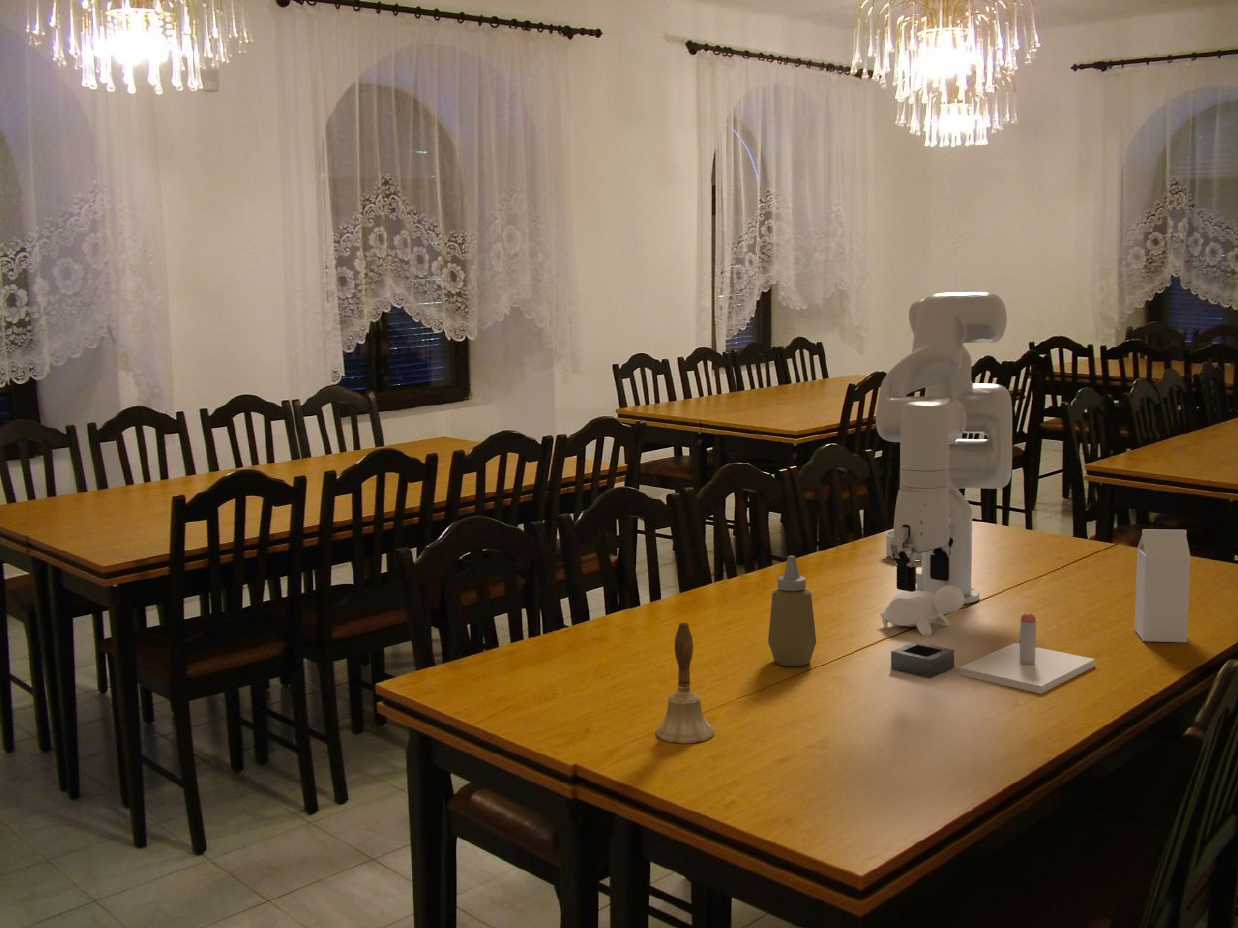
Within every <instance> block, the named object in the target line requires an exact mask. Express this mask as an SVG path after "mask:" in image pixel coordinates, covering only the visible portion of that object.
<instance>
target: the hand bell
mask: <svg viewBox="0 0 1238 928" xmlns="http://www.w3.org/2000/svg"><path fill="white" fill-rule="evenodd" d="M676 631H677V632H676V634H675V639H674V653H675V659H676V662H677V667H678V674H677V675H678V683H677V691H676V692H675V693H672V694H671V695H670V696H669V697H668V701H667V702H668V704H667V709H666V714H665V717H664V719H663V720H662V723H661V724H660V725H659V726H657V729H656V730H655V735H656V736H657V738H659V739H660V740H662V741H665V742H668V743H673V744H674V743H675V744H676V743H677V744H695V743H699V742H700V743H701V742H705V741H707V740H710V739H711V738H712V737H714V736H715V733H716V732H715V729H714V727H713V726H712V724H710V723H709V722H708V721H707V719H706V717H705V716H704V712H703V708H702V701H701V697H700V696H699V695H698V694H697V693H695V692H692V691H691V687H690V686H691V681H690V680H691V677H690V676H691V675H690V671H691V670H690V666H691V662H692V658H693V653H694V641H693V636H692V633H691V630H690V626H689V623H688V622H680V623H678V629H677V630H676Z"/></svg>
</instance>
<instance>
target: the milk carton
mask: <svg viewBox="0 0 1238 928" xmlns="http://www.w3.org/2000/svg"><path fill="white" fill-rule="evenodd" d="M1187 534H1188V533H1187V529H1159V528H1158V529H1155V528H1154V529H1152V528H1151V529H1150V528H1149V529H1147V528H1146V529H1142V530H1141V537H1140V540H1139V543H1138V545H1137V547H1136V548H1137V549H1136V553H1137V554H1136V573H1135V575H1136V576H1135V577H1136V581H1135V582H1136V583H1135V602H1134V603H1135V605H1134V606H1135V609H1134V631H1135V632H1136V633H1137V635H1138V636H1139V638H1140V639H1141V640H1142V641H1143V642H1158V643H1159V642H1161V643H1188V625H1189V623H1188V621H1189V604H1190V603H1189V601H1190V579H1191V577H1190V576H1191V574H1190V573H1191V554H1190V553H1191V552H1190V548H1189V542H1188V539H1187Z"/></svg>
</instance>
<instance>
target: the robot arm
mask: <svg viewBox="0 0 1238 928" xmlns="http://www.w3.org/2000/svg"><path fill="white" fill-rule="evenodd" d="M908 319H909V325H910V329H911V331H912V334H913V341H912V342H913V343H912V349H911V350H912V351H911V353H910V354H908V355H906V356H905V357H904V358H902V359H901V360H900V361H899V362H897V363H896V364H895V365H894V366H893V367H892V368H891V369H889V371H888V372H887V374H886V375H885V376H884V378H883V380H882V381H881V385H880V389H879V393H878V394H879V395H878V401H877V406H876V411H875V412H876V413H875V426H876V431H877V433H878V435H879V436H880V437H881V438H882V439H883V440H885V441H887V442H893V443H900V445H899V453H900V454H899V461H900V463H899V465H900V466H899V489H898V490H897V491H898V492H897V496H896V503H895V509H894V519H893V520H894V521H893V530H894V533H893V539H892V540H891V541H890V547H891V550H892V556H893V558H894V559H893V558H892V559H893V560H894V565H895V566H896V589H897V590H898V591H899V590H900V591H910V592H914V591H915V590H919V591H931V592H933V593H934V594H935V593H936V592H937V591H938V590H939V589H940V588H942V587H944V586H946V585H952V586H956V587H958V588H959V589H960V590H961V591H962V594H963V596H964V603H963V605H966V604H972V603H975V602H978V600H979V599H980V592H979V590H977V589H975V588H972V573H973V572H972V569H973V568H972V567H973V566H972V562H973V561H972V560H973V559H972V557H973V556H972V555H973V510H972V506H971V504H970V502H969V501H968V500H967V498H966V497H965V496H964V495H963V494H962V492H961V491H960V489H989V490H990V489H991V490H993V489H994V490H995V489H997V490H998V489H1001V488H1005V487H1006V486H1008V484H1009V483H1010V480H1011V477H1012V471H1013V470H1012V469H1013V468H1012V467H1013V405H1012V398H1011V394H1010V392H1009V391H1008V389H1007V388H1006V386H1003V385H1002V384H998V383H974V382H973V381H972V357H971V354H970V352H969V350H967V347H965V345H964V344H978V343H979V344H982V343H983V344H994V343H998V342H999V341H1001V339H1002V338H1003V337H1004V334H1005V331H1006V329H1007V323H1008V322H1007V319H1008V317H1007V309H1006V304H1005V303H1004V300H1003V298H1001V297H1000V296H999V295H997V294H996V293H993V292H988V291H987V292H985V291H983V292H982V291H978V292H977V291H972V292H971V291H970V292H969V291H968V292H964V291H963V292H941V293H935V294H934V293H933V294H932V295H929V296H927V297H926V298H922V299H918V300H916V301H914V302H913V303H912V304H911V305H910V307H909V310H908ZM924 388H925V396H907V395H909V394H910V393H913V392H915V391H918V390H921V389H924ZM962 434H983V435H985V436H986V437H987V438H985V439H983V438H982V439H978V438H976V439H973V438H960V437H962ZM906 553H910V556H909V558H908V556H907V555H906ZM918 553H922V561H921V572H919V571H917V566H915V565H914V564H915V560H916V558H917V555H918Z"/></svg>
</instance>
